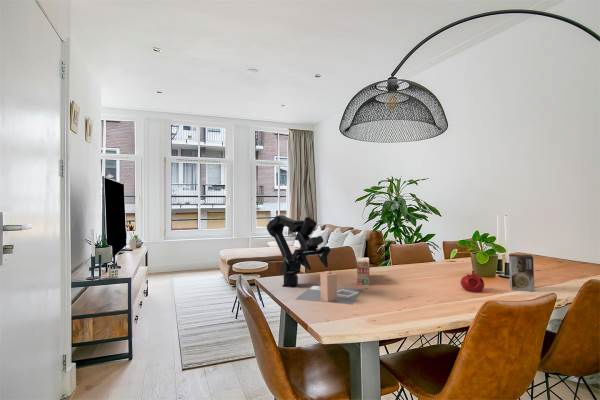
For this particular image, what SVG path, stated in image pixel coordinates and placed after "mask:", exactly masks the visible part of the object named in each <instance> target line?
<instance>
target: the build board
mask: <svg viewBox="0 0 600 400" xmlns="http://www.w3.org/2000/svg"><path fill="white" fill-rule="evenodd" d="M363 291H364V289H363V288H357V287H356V288H355V287H354V288H353V287H342V286H341V287H339V286H337V300H334V301H329V302H327V301H324V300H322V299H321V285H313V284H312V285H311V286H309V288H307V289H306V290H305V291H303V292H302V293H301V294H299V295H298V296H297V297H296V298H295V300H299V301H309V302H320V303H329V304H330V303H332V304H343V305H352V306H353V304H354V303H355V302H356V300H357V299H358V297H359V296H360V294H361V292H363Z"/></svg>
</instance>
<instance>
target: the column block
mask: <svg viewBox="0 0 600 400" xmlns="http://www.w3.org/2000/svg"><path fill="white" fill-rule="evenodd" d="M337 275H338V273H334V272H332V271H331V270H330V271H329V270H328V271H327V270H326V271H325V272H321V273H320V286H321V299H322V300H324V301H327V302H326V303H330V302H329V301H334V300H337V287H338V276H337Z"/></svg>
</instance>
